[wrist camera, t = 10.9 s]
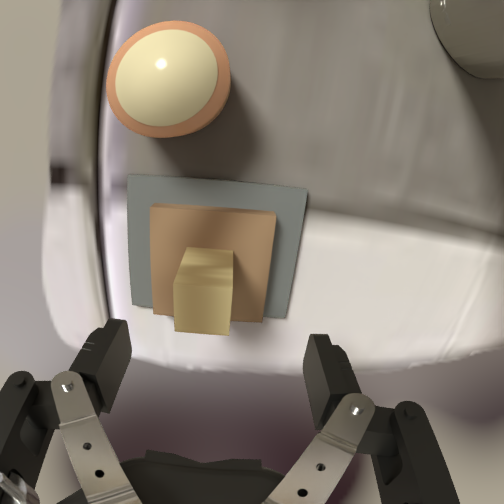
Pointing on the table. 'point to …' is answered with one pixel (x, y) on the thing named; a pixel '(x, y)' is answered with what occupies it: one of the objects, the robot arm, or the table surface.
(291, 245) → the mat
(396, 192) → the table surface
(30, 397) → the robot arm
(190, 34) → the push button
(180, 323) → the lid
